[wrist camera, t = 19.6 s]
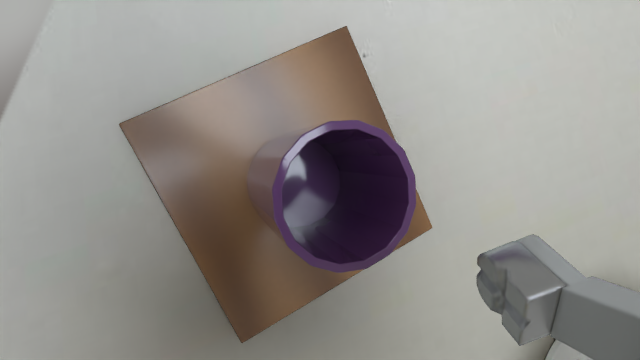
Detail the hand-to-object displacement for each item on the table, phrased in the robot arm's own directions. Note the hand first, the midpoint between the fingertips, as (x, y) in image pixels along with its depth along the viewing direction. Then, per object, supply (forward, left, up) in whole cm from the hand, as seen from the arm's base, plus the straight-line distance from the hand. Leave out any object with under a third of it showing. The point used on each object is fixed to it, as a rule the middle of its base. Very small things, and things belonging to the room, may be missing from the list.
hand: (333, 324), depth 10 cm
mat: (+4, +1, -17) cm, 18 cm away
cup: (+4, +1, -17) cm, 17 cm away
